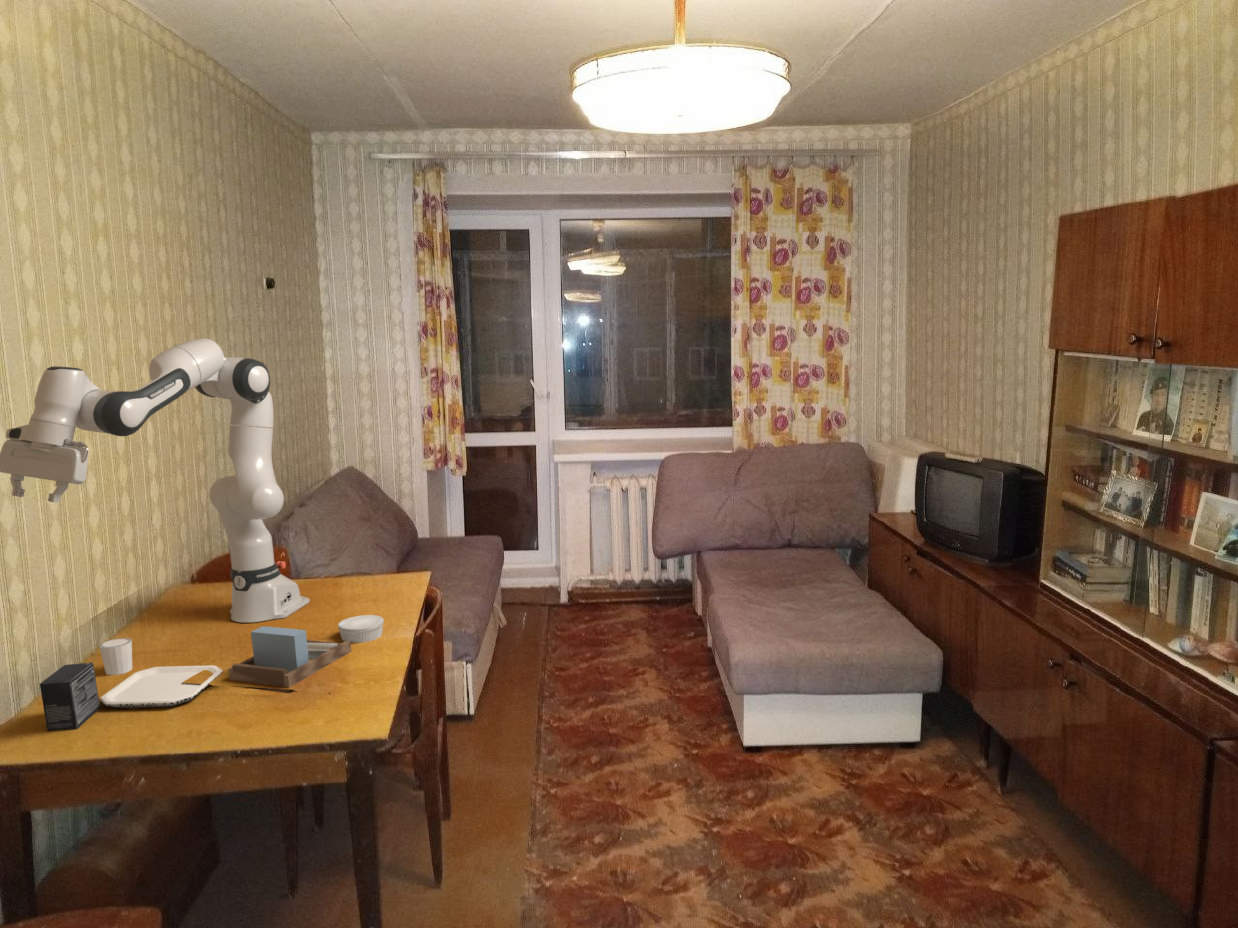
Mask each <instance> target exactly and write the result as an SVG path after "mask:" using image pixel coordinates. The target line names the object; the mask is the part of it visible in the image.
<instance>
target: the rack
mask: <svg viewBox="0 0 1238 928" xmlns="http://www.w3.org/2000/svg"><path fill="white" fill-rule="evenodd" d="M307 643H334V642H331V641H320V640H310V639H307ZM336 643H337V644H338V646H336V647H334V648H332V649H330V650H329V651H327V652H325V653H323V654H321V655H320V656H318V657H316V658H314V659H310V660H309V662H307V663H305V664H303V665H302V666H300V667H298V668H296V669H294V670H293V671H291V672H289V673H287V669H281V668H273V667H264V666H255V665H254V656H251V657H250V658H247V659H245V660H243V661H242V662H241V661H240V662H239V663H234V664H231V667H230V668H228V670H227V671H228V678H229V681H233V682H240V683H241V682H242V683H251V684H256V685H258V684H259V685H265V686H275V687H281V688H270V687H269V688H268V687H258V686H257V687H253V686H252V687H251V686H239V685H237V686H236V685H234V687H237V688H242V689H243V688H244V689H252V690H259V691H260V690H261V691H267V692H268V691H269V692H276V693H284V694H292V693H293V692H295V691H296V689H288V688H291V687H293V686H295V685H296V684H298V683H300V682H301V681H303V680H304V679H306V678H308V677H310V676H312V675H314V674H316V673H317V672H319V671H321V670H323V668H325V667H327V666H329V665H331V664H332V663H334V662H336V661H338V660H340V659H341V658H343V657H344V656H346V655H348V654H350V653H352V643H351V642H350V641H343V642H342V643H341V642H336ZM282 687H284V688H285V689H284V688H282Z"/></svg>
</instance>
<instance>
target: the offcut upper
mask: <svg viewBox="0 0 1238 928" xmlns="http://www.w3.org/2000/svg"><path fill="white" fill-rule="evenodd" d="M337 643H338V642H333V643H307V648H308V658H309V660H312V659H314V658H316V657H318V656H320V655H321V654H323V653H325V652H327V651H329V650H330V649H332V648H334V647H336V646H338V644H337Z"/></svg>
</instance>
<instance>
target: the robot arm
mask: <svg viewBox="0 0 1238 928" xmlns="http://www.w3.org/2000/svg"><path fill="white" fill-rule="evenodd" d="M148 367H149V368H148V374H149V378H150V382H148V383H146V384H145V385H143V386H141V387H139V388H138V389H136V390H132V391H123V390H121V391H119V390H117V391H115V390H114V391H111V390H102V389H101V388H100V387H98V386H97V385H96V384H95V383H93V382H92V380H90V379H89V377H88V376H87V375H86V373H85V371H84V370H83V369H81V368H77V367H71V366H58V365H57V366H56V365H55V366H53V365H52V366H50V367H47V368H46V369H45V370H44V372H43V373H42V375H41V377H40V380H39V383H38V386H37V390H36V393H35V396H34V401H33V403H34V409H33V413H32V414H31V416H30V418H29V422H28V424H23V425H21V426H20V425H19V426H17V427H12V428H8V429H7V430H6V431H5V438H6V439H7V440H5V441H4V443H3V445H2V447H1V449H0V473H2V474H10V479H9V480H10V483H11V486H12V491H11V495H12V497H18V498H22V497H24V496H25V492H26V491H25V490H26V489H25V488H23V485H22V482H23V481H24V480H25V477H27V478H29V477H30V478H35V479H40V480H41V479H42V480H48V481H55V485H54V486H55V487H56V488H55V489H54V490H53V492H52V493H51V492H50V493H49V494H48V499H47V502H49V503H50V502H51V503H55V504H59V503H60V501H61V498H62V495H64V493H65V492H66V491H67V490H68V488H69V484H73V485H83V483H84V482H85V481H86V478H87V473H88V462H89V460H88V459H89V458H88V456H89V453H90V452H89V448H88V445H86V443H85V442H83V441H75V440H74V436H75V433H76V428H78V429H80V430H82V431H85V432H87V431H88V432H94V433H99V434H100V433H102V434H103V433H104V434H108V435H112V436H113V435H114V436H116V437H128V436H130V435H133V434H135V433H137V432H138V431H139V430H140V429H141V428H142V427H143V425H145V423H146V422H147V420H149V418H150V417H151V416H153V415H154V414H155V413H157V412H159V411H160V410H162V409H163V408H165V407H166V406H167V405H170V404H171V403H172V402H174V401H176V400H177V399H179V398H180V397H182V396H183V395H184V394H186V393H187V392H188V391H190V390H192V389H196V390H197V392H199V393H200V394H201V395H204V396H206V397H209V398H218V399H224V400H229V401H230V403H231V413H230V423H229V424H230V425H229V434H228V435H229V436H228V445H227V447H228V448H227V452H228V456H229V458H230V459H231V460H232V461H231V462H232V464H233V468H234V472H235V475H234V474H233V475H228V476H223V477H221V478H218V479H217V480H215V481H214V482H213V483H212V485H211V487H210V489H209V500H210V503H211V505H212V507H214V508H215V510H216V511H217V513H218V514H219V515H218V516H219V518H220V519H221V523H222V526H223V528H224V531H225V534H226V537H227V542H228V547H229V554H230V562H231V568H230V579H231V583H232V585H231V608H230V610H229V613H230V619H231V621H233V622H236V623H258V622H264V621H269V620H277V619H284V618H287V617H289V616H290V615H292V614H293V613H295V612H296V611H298V610H300V609H301V608H302V607H304V606H306V605H307V604H309V603H310V602H311V600H310V598H308V597H307V596H302V595H301V592H300V588H299V585H298V583H297V582H295V581H294V580H293V579H290V578H288V577H287V576H285V575H283V574H281V571H280V569H285V568H286V567H287V563H286V562H285V561H280V560H279V561H277V562H275V554H274V547H273V546H274V545H273V537H272V533H270V531H269V530H268V528H267V527H266V525H265V523H264V520H263V519H265V520H266V519H270V518H273V517H275V516H276V515H278V514H279V513H280V511H281V510H282V509H283V506H284V502H285V495H284V493H283V491H282V489H281V486H280V485H279V484H278V482H277V480H276V475H275V470H274V464H273V457H272V454H273V438H274V437H273V436H274V423H275V421H274V420H275V418H274V417H275V414H274V403H273V396H272V393H270V386H271V377H270V376H271V375H270V372H269V370H268V368H267V366H266V365H265V364H264V363H263V362H262V361H259V360H258V359H254V358H250V357H249V358H248V357H247V358H245V357H237V356H236V357H235V356H225V354H224V351H223V350H222V348H221V346H220V345H219V344H218V343H217V342H216V341H214V340H213V339H209V338H206V337H203V338H202V337H201V338H196V339H192V340H188V341H186V342H181V343H179V344H177V345H175V346H172V347H169V348H168V349H165V350H164V351H162V352H160V353H158V354H157V355H156V356H154V357H153V358H152V359H151V361H150V363H149V366H148Z"/></svg>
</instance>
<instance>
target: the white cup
mask: <svg viewBox="0 0 1238 928" xmlns="http://www.w3.org/2000/svg"><path fill="white" fill-rule="evenodd" d="M98 647H99V651H100V655H101V660H102V663H103V664H102V665H103V668H104V673H105V674H106V675H107V676H118V675H122V674H123V675H124V674H127V673H128V672H130V671H132V670H133V641H132V639H131V638H127V637H126V638H125V637H121V638H113V639H110V640H106V641H103V642H101V643H100V644H99V645H98Z"/></svg>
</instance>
